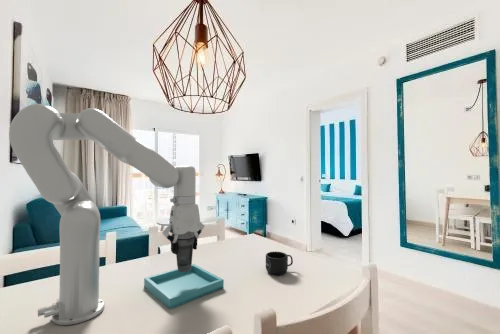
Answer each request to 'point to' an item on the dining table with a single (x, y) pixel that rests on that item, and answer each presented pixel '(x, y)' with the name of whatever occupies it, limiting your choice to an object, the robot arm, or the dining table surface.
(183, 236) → the beverage cup
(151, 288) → the tray
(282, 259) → the mug
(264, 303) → the dining table surface
